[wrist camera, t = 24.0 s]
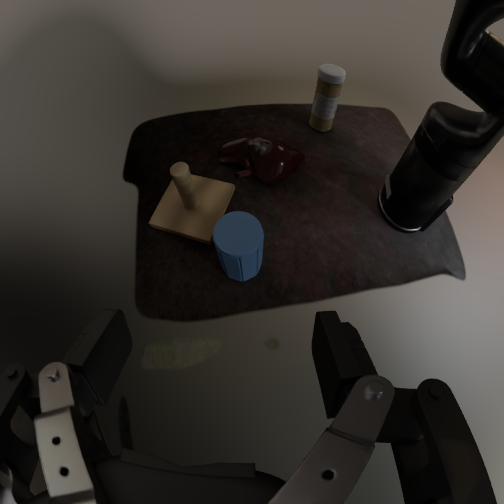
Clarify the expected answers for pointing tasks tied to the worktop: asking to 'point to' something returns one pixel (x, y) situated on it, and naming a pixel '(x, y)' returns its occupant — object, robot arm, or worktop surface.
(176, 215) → the dowel stand
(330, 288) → the worktop surface
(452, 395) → the robot arm
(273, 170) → the dark red glossy lump
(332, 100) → the sprinkles bottle
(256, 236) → the blue sleeve
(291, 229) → the worktop surface
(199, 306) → the worktop surface
